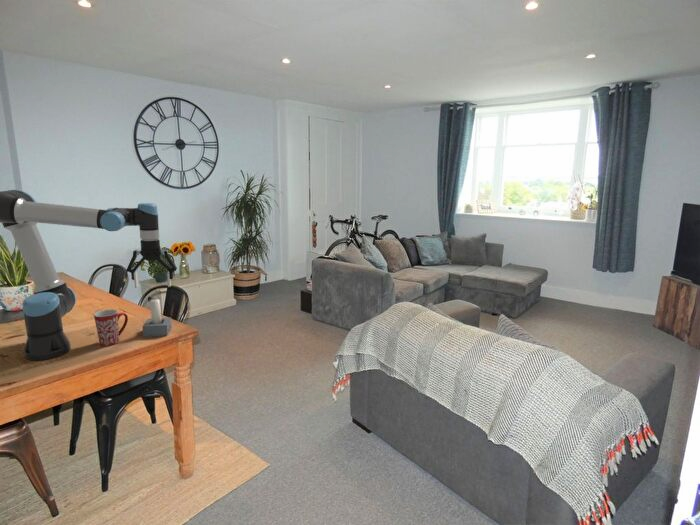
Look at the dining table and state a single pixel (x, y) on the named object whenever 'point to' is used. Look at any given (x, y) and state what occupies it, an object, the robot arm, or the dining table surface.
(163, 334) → the holder
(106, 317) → the mug
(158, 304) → the candle
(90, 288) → the dining table surface
